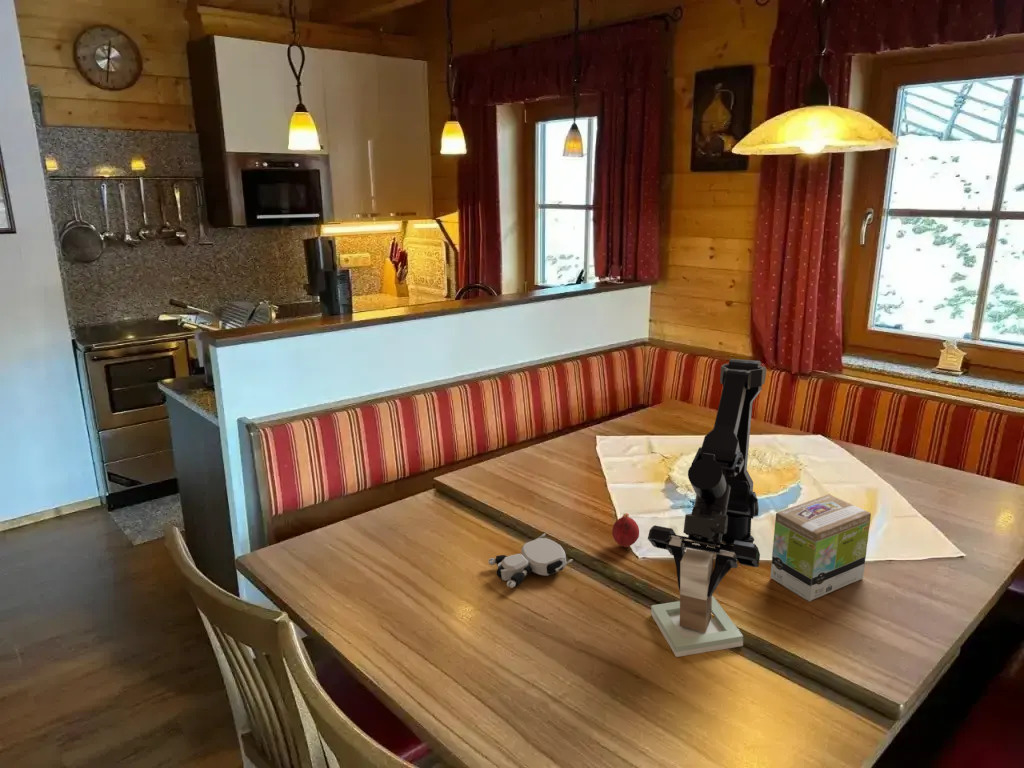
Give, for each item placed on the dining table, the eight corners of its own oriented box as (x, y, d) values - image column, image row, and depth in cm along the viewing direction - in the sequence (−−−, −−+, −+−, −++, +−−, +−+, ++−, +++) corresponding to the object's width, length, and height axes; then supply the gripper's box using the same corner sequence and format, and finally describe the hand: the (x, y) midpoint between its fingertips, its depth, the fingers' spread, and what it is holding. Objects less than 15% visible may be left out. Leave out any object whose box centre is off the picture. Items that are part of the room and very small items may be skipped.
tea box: (811, 604, 131) (816, 533, 126) (769, 578, 139) (772, 511, 135) (865, 579, 137) (872, 511, 133) (822, 556, 146) (827, 491, 141)
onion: (638, 554, 150) (638, 521, 148) (611, 553, 151) (611, 520, 149) (639, 540, 156) (639, 508, 153) (613, 539, 157) (612, 507, 154)
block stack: (686, 611, 128) (687, 548, 124) (711, 617, 126) (713, 553, 122) (679, 626, 124) (680, 561, 120) (705, 632, 122) (707, 567, 118)
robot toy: (511, 601, 139) (577, 574, 144) (508, 581, 137) (574, 555, 143) (486, 571, 150) (549, 547, 155) (483, 553, 148) (546, 529, 153)
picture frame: (712, 605, 132) (712, 595, 131) (742, 645, 121) (743, 636, 120) (651, 614, 130) (651, 605, 130) (676, 657, 119) (676, 647, 118)
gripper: (650, 485, 126) (631, 571, 120) (760, 502, 117) (745, 596, 111) (663, 505, 135) (645, 586, 129) (765, 522, 126) (752, 610, 120)
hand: (694, 593), depth 122 cm, fingers closed on block stack, 4 cm apart
